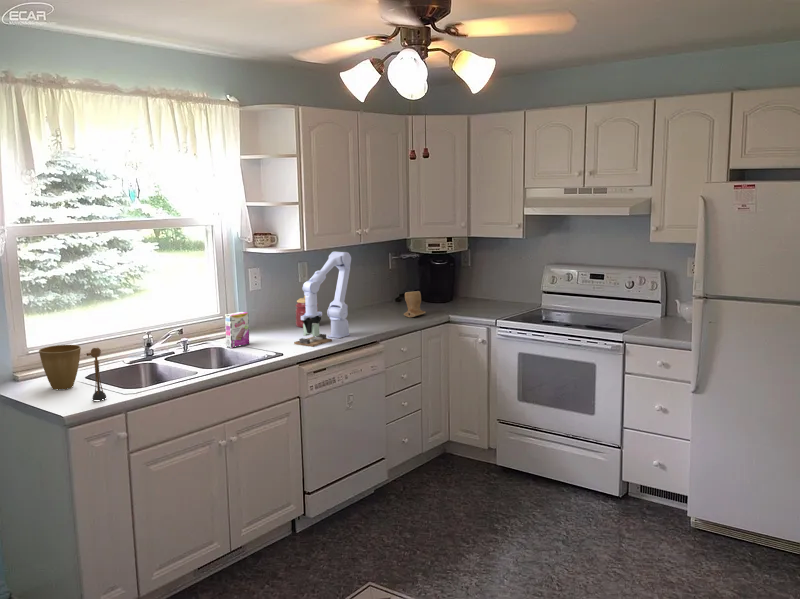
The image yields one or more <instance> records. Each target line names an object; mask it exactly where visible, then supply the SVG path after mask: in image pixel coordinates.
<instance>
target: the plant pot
mask: <svg viewBox="0 0 800 599" xmlns="http://www.w3.org/2000/svg"><path fill="white" fill-rule="evenodd" d="M81 350H82V346H80V345H77V344H61V345H60V344H59V345H58V344H57V345H49V346H46V347H43V348H40V349H39V350H38V353H39V357H40V361H41V364H42V367H43V370H44V374H45V376H46V378H47V380H48V383H49V385H50V386H51V388H53V389H52V390H54V389H58V390H57V391H60V390H59V389H65V390H68V389H67V388H70V389H72V388H73V387H74V385H75V381H76V379H77V375H78V370H79V365H80V360H81V358H80V357H81ZM72 386H73V387H72ZM71 387H72V388H71Z"/></svg>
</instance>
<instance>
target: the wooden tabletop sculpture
mask: <svg viewBox="0 0 800 599" xmlns="http://www.w3.org/2000/svg"><path fill="white" fill-rule="evenodd" d="M101 354H102V351H101V348H99V347H98V346H95V347H92V349H90V352H87V353H86V357H89V356H90V357H92V358H94V360H93V361H94V374H95V375H94V376H95V389H94V393H93V394H92V398H91V399H93V400H102V399H105V398H106V397H107V395H106V393H105V392H104V390H103V387H102V383H101V382H102V381H101V373H100V372H101V371H100V362H99V359H98V358H100V356H101ZM93 400H92V401H93Z"/></svg>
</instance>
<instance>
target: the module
mask: <svg viewBox="0 0 800 599" xmlns="http://www.w3.org/2000/svg"><path fill="white" fill-rule="evenodd" d="M302 328H303V336H304V337H307V336H310V335H311V336H312V337H316V336H319V335H320V334H321V333H320V323H319V324H318V323H312V331H311V333H307V330H306V327H305V325H304V324H303V327H302Z"/></svg>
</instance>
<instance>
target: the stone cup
mask: <svg viewBox="0 0 800 599" xmlns="http://www.w3.org/2000/svg"><path fill="white" fill-rule="evenodd" d="M404 300H405V302H406V306H407V311H406V312H404V313H403V316H404V317H407V318H415V317H419V316H421V315H424V314H426V311H424V310H422V309H421V303H422V294H421V291H419V290H417V291H407V292H405V293H404Z"/></svg>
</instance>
